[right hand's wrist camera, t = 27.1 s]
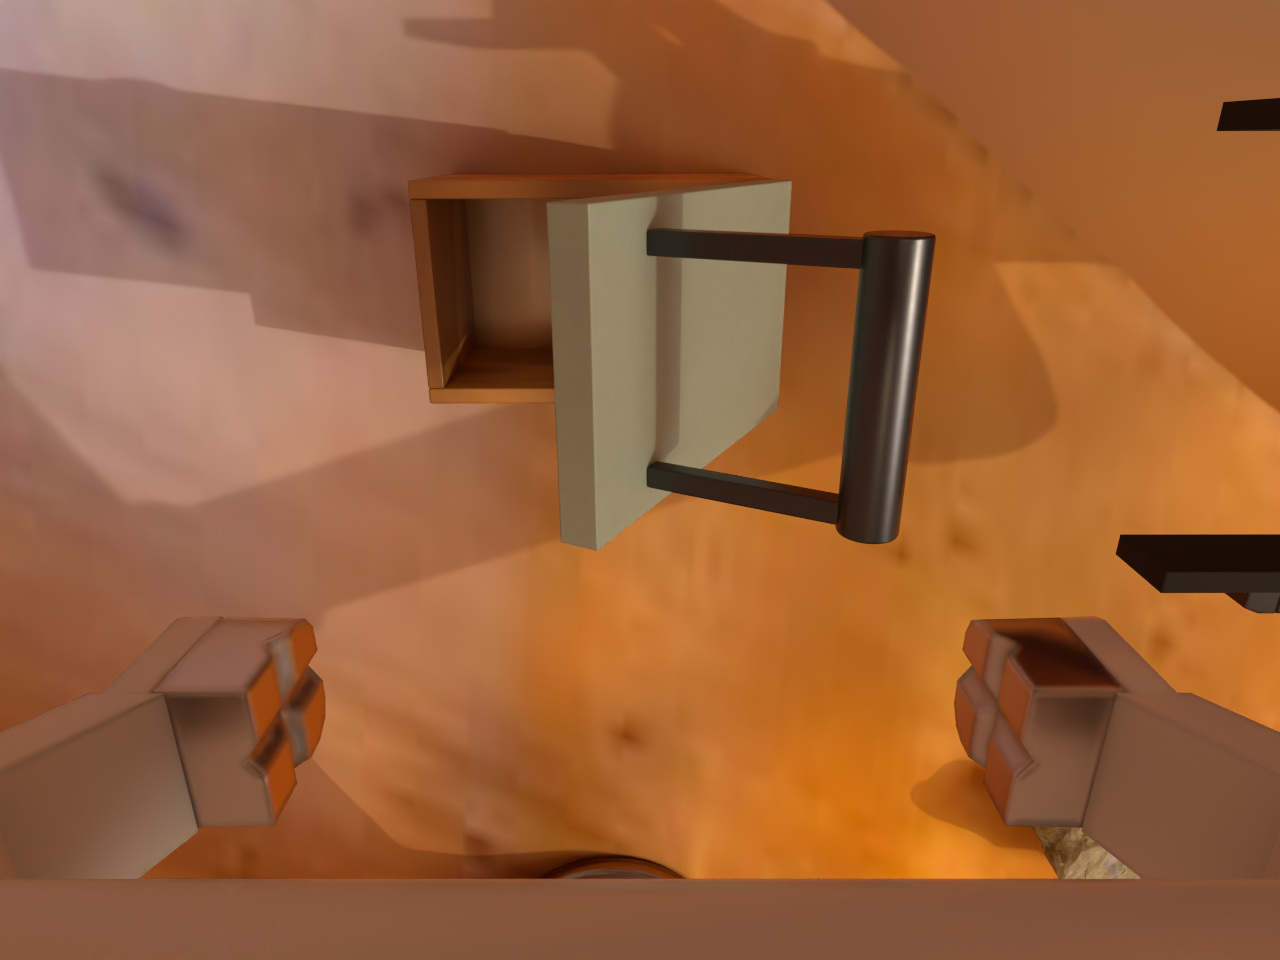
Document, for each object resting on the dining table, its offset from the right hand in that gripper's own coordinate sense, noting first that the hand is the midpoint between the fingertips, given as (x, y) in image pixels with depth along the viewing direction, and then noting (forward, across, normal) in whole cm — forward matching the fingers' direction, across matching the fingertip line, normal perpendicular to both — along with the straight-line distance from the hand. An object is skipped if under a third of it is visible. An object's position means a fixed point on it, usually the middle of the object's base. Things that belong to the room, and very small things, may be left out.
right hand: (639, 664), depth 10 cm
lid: (+20, +1, 0) cm, 20 cm away
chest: (+36, -2, 0) cm, 36 cm away
